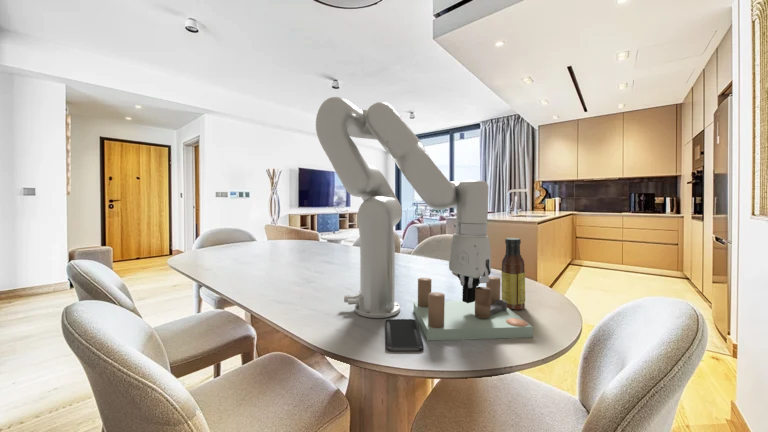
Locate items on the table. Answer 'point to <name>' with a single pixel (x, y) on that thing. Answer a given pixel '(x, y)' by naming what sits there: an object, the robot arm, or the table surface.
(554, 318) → the table surface
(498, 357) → the table surface
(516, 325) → the stool seat
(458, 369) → the table surface
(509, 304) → the sauce bottle
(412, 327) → the phone
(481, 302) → the folding leg
